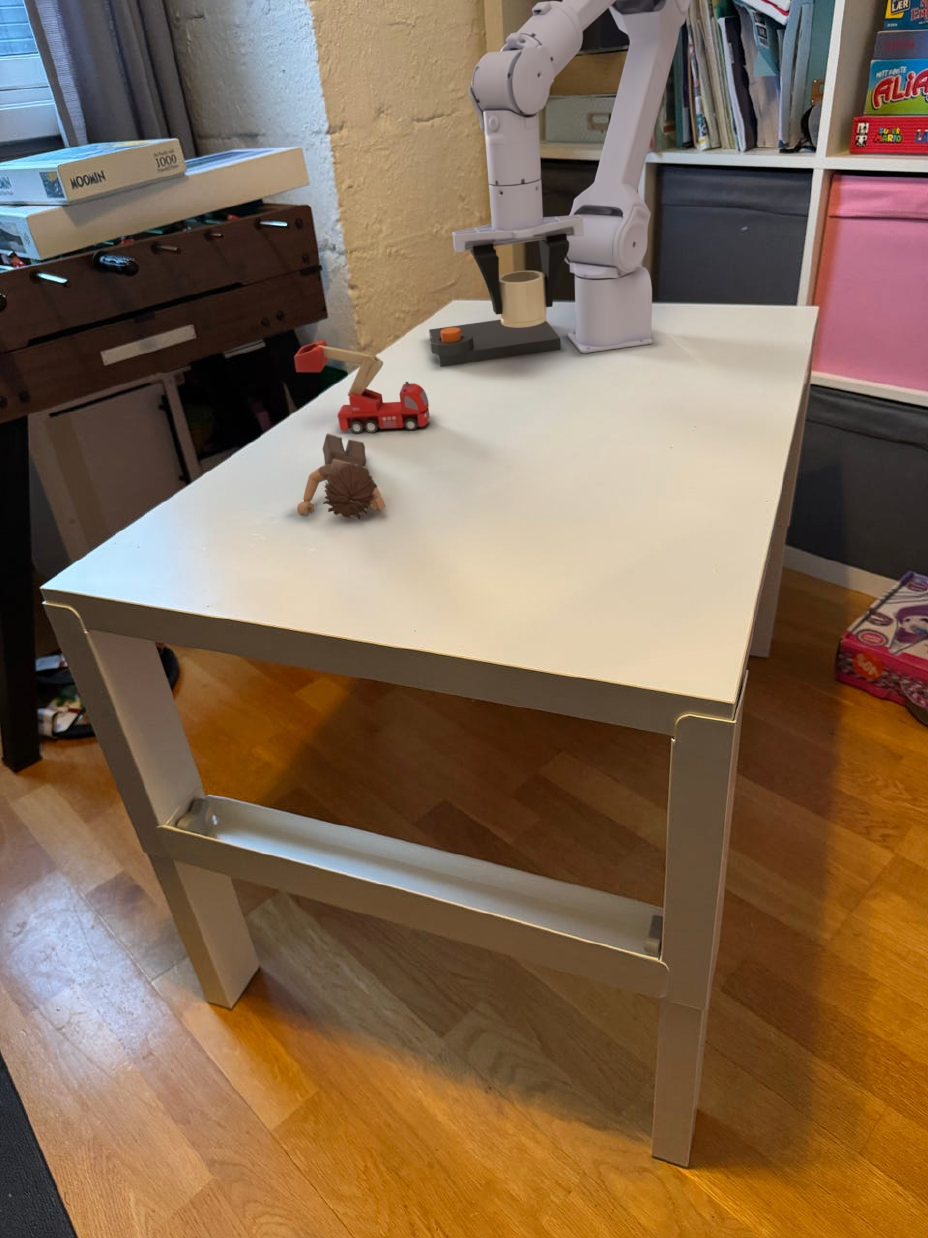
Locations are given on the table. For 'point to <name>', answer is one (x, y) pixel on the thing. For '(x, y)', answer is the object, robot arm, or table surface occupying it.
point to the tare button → (450, 334)
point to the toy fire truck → (367, 392)
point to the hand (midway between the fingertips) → (522, 308)
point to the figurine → (343, 480)
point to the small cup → (523, 298)
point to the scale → (493, 342)
